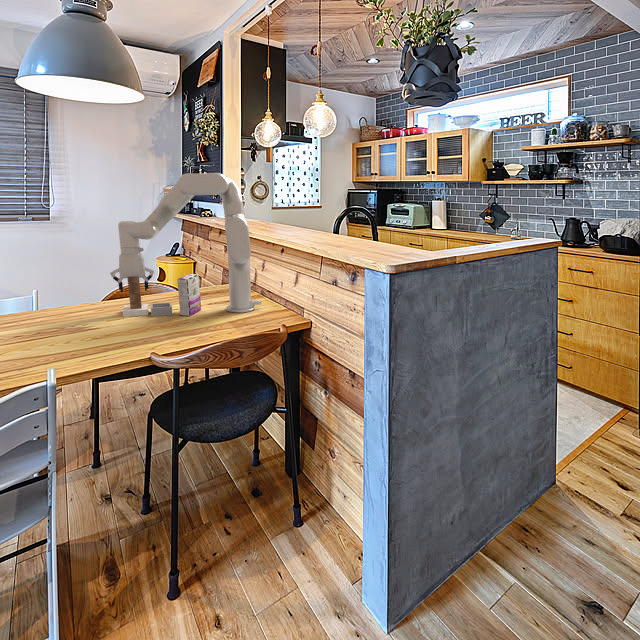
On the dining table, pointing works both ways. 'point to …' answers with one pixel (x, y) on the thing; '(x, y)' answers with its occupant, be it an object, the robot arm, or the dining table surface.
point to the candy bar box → (189, 294)
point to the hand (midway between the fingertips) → (134, 290)
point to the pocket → (161, 309)
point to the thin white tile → (135, 311)
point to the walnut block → (134, 292)
